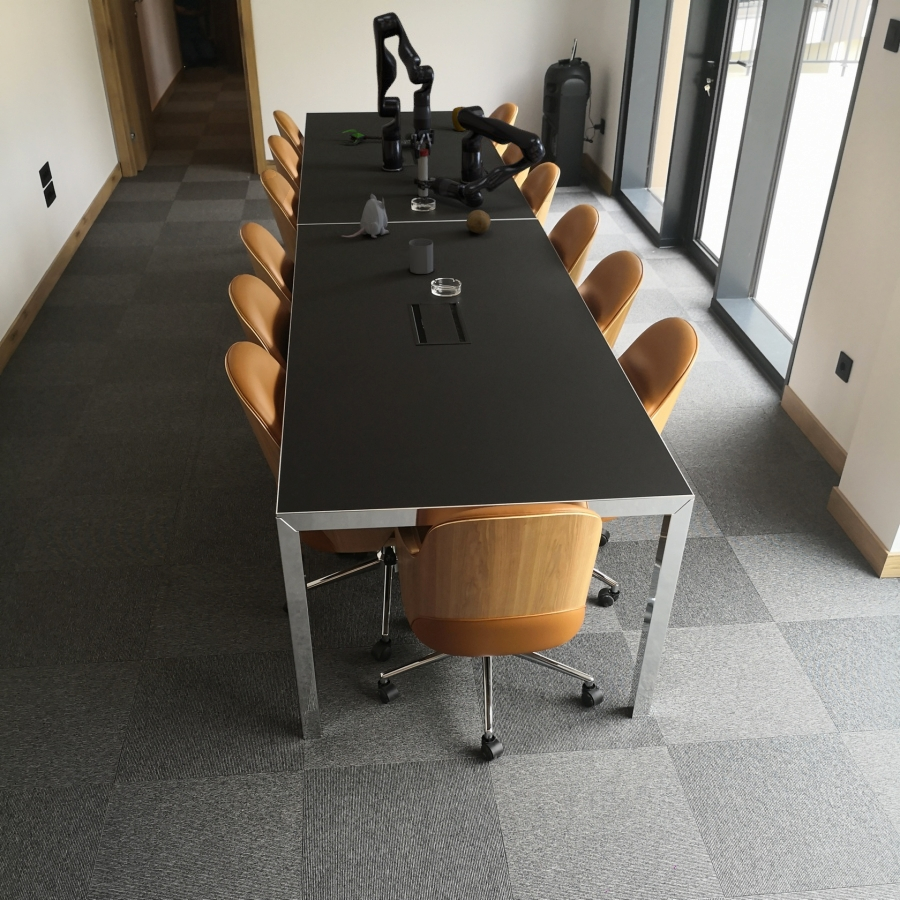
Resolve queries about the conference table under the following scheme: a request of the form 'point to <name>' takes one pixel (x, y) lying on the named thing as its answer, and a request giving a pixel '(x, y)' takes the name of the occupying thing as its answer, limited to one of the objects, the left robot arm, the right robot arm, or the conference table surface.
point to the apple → (454, 119)
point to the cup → (421, 256)
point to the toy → (373, 218)
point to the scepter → (359, 137)
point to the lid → (424, 152)
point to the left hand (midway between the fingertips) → (422, 156)
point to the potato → (478, 221)
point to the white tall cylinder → (423, 174)
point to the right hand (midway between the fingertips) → (418, 179)
